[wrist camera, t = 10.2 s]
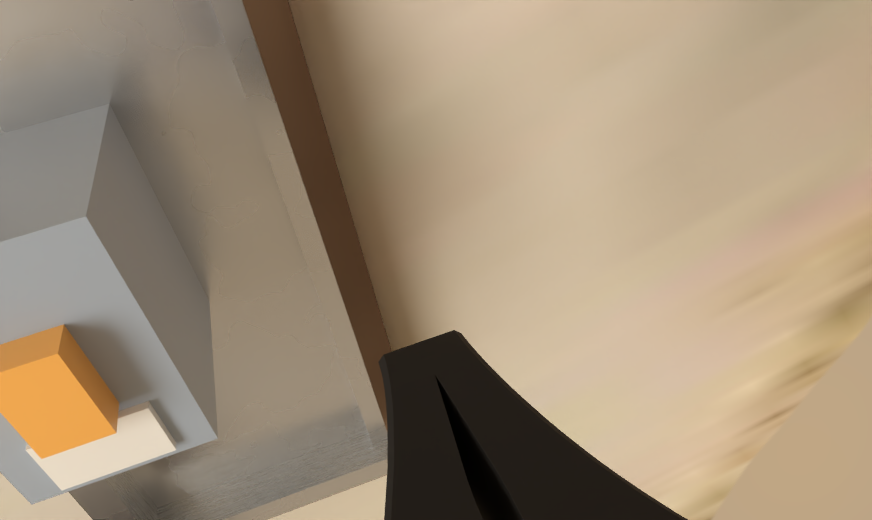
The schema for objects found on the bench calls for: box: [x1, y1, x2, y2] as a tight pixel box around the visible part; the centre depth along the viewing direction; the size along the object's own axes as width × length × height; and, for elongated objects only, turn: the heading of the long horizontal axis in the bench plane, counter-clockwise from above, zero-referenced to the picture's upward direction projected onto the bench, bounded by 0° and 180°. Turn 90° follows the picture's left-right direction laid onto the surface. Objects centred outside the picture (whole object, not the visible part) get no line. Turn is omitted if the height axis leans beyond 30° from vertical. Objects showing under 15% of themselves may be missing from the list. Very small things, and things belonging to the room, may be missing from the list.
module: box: [0, 104, 218, 504], centre depth 14 cm, size 4×6×6 cm, turn 9°
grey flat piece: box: [0, 0, 388, 520], centre depth 17 cm, size 9×22×2 cm, turn 9°
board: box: [242, 0, 392, 429], centre depth 18 cm, size 11×26×1 cm, turn 9°
